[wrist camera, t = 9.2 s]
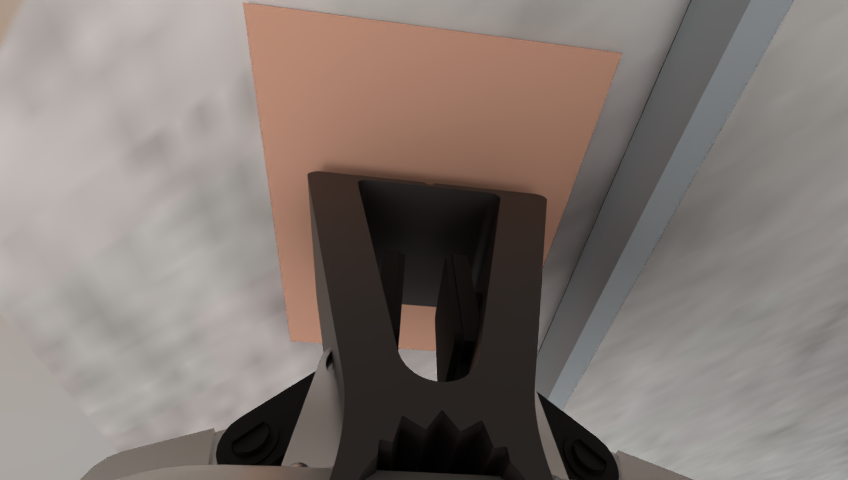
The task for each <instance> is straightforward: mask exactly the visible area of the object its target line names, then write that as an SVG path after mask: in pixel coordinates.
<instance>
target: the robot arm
mask: <svg viewBox="0 0 848 480" xmlns="http://www.w3.org/2000/svg"><path fill="white" fill-rule="evenodd" d="M405 257H406V254H401V253H400V249H391V248H385V251H384V256H383V262H382V268H381V273H380V278H381V282H382V287H383V291H384V295H385V299H386V303H387V307H388V312H389V316H390V320H391V324H392V328H393V332H394V337H395V341H396V345H397V349H398V346H399V335H400V323H401V310H402V297H403V283H404V270H405ZM479 300H480V292H475V291H474V286H473V281H472V276H471V271H470V267H469V262H468V257H467V255H457V254H451V257H450V258H445V261H444V267H443V273H442V278H441V284H440V290H439V295H438V301H437V307H436V312H435V336H436V358H437V380H438V382H451V381H456V380H459V379H461V378H464V377H465V376H467V373H468V367H469V362H470V358H471V355H472V351H473V348H474V344H475V340H476V333H477V327H478V320H479V310H478V306H479ZM535 409H536V418H537V423H538V429H539V434H540V438H541V442H542V446H543V450H544V453H545V456H546V460H547V463H548V465H549V468H550V471H551V474H552V477H553V479H554V480H693V479H691V478H688V477H685V476H683V475H680V474H678V473H675V472H673V471H670V470H667V469H665V468H662V467H660V466H657V465H655V464H652V463H649V462H647V461H644V460H642V459H639V458H636V457H634V456H631V455H629V454H626V453H624V452H621V451H617V452H616V454H615V453H612V452H610V451H609V449H608V448H607V447H606V445H604V444H603V443H602V442H601V441H600V440H599V439H598V438H597V437H596V436H594V435H593V434H592V433H590V432H589V431H588V430H586V429H585V428H584V427H583V426H581V425H580V424H579V423H577V422H576V421H575V420H573V419H572V418H571V417H570V416H568V415H567V414H566V413H564V412H563V411H562V410H560V409H559V408H558V407H557V406H555V405H554V404H553V403H551V402H550V401H549V400H547V399H546V398H545V397H544V396H542V395H541V394H540V393H538V392H537V391H536V389H535ZM342 425H343V421H342V415H341V408H340V402H339V395H338V389H337V383H336V378H335V375H334V368H333V361H332V351H331V346H330V347H329V348H328V349H327V350H326V351H325V352H324V353H323V355H322V357H321V359H320V361H319V364H318V367H317V370H316V371H315V372H314V373H312V374H310V375H309V376H307V377H305V378H304V379H302V380H301V381H299V382H297V383H296V384H294V385H292V386H291V387H289V388H288V389H286V390H284V391H283V392H281V393H279V394H278V395H276V396H275V397H273V398H271V399H270V400H268V401H266V402H265V403H263V404H262V405H260V406H258V407H257V408H255V409H253V410H252V411H250V412H249V413H247V414H245V415H244V416H242V417H240V418H239V419H238V420H236V421H235V422H234V423H233V424H231V425H230V426H229V427H228V429H225V430H222V431H218V432H215V430H214V428H213V429H209V430H205V431H201V432H197V433H193V434H189V435H185V436H181V437H178V438H174V439H170V440H166V441H162V442H158V443H154V444H150V445H146V446H142V447H138V448H134V449H130V450H126V451H123V452H120V453H117V454H115V455H112V456H110V457H107V458H106V459H104V460H103V461H101V462H100V463H98V464H97V465H95V466H94V467H93V468H91V469H90V470H89V472H88V473H86V475H84V477H82V478H81V480H329V479H330V476H331V473H332V470H333V467H334V463H335V460H336V456H337V452H338V448H339V443H340V438H341V433H342ZM365 480H504V479H502V478H501V477H500V476H487V475H467V474H446V473H426V472H405V471H384V470H376V473H375V474H373V475H371V476H369V477H368V478H366V479H365Z"/></svg>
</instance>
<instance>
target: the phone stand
mask: <svg viewBox="0 0 848 480" xmlns="http://www.w3.org/2000/svg"><path fill="white" fill-rule="evenodd" d="M307 176H308V189H309V203H310V216H311V230H312V243H313V256H314V270H315V283H316V297H317V305H318V313H319V321H320V328H321V336H322V344H323V351H324V352H325V351H326V350H327V349H328V348H329V347H330V346H331V351H332V361H333V368H334V375H335V378H336V383H337V389H338V395H339V402H340V408H341V415H342V421H343V425H342V433H341V438H340V443H339V448H338V452H337V456H336V460H335V463H334V467H333V470H332V473H331V476H330V479H329V480H365V479H366V478H368V477H369V476H371V475H373V474H375V473H376V470H384V471H405V472H426V473H446V474H467V475H487V476H500V477H501V478H502V479H504V480H554V479H553V477H552V474H551V471H550V468H549V465H548V463H547V460H546V456H545V453H544V450H543V446H542V442H541V438H540V434H539V429H538V423H537V418H536V409H535V377H536V361H537V346H538V331H539V315H540V300H541V285H542V269H543V254H544V239H545V223H546V208H547V199H546V198H545V197H544V196H541V195H538V194H532V193H523V192H513V191H504V190H494V189H485V188H475V187H465V186H456V185H446V184H437V183H435V184H433V185H429V184H426V183H425V182H418V181H408V180H399V179H389V178H380V177H370V176H361V175H351V174H341V173H332V172H322V171H314V172H310V173H308V174H307ZM385 248H391V249H400V253H401V254H406V257H405V270H404V283H403V297H402V304H404V305H416V306H428V307H437V301H438V295H439V290H440V284H441V278H442V273H443V267H444V261H445V258H450V257H451V254H457V255H467V257H468V262H469V267H470V271H471V276H472V281H473V286H474V291H475V292H480V300H479V306H478V310H479V320H478V327H477V333H476V340H475V344H474V348H473V351H472V355H471V358H470V362H469V367H468V373H467V376H465V377H464V378H461V379H459V380H456V381H451V382H437V381H432V380H428V379H425V378H423V377H421V376H419V375H417V374H415V373H414V372H413V371H411V370H410V369H409V368H408V367H407V366H406V365H405V364H404V362H403V361H402V359H401V357H400V355H399V353H398V349H397V345H396V341H395V337H394V332H393V328H392V324H391V320H390V316H389V312H388V307H387V303H386V299H385V295H384V291H383V287H382V282H381V278H380V273H381V268H382V262H383V256H384V251H385Z"/></svg>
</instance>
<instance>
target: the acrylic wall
mask: <svg viewBox="0 0 848 480" xmlns="http://www.w3.org/2000/svg"><path fill="white" fill-rule="evenodd" d="M793 1H794V0H691V3H690V5H689V7H688V10H687V12H686V14H685V16H684V19H683V21H682V23H681V26H680V28H679V30H678V33H677V35H676V37H675V40H674V42H673V44H672V46H671V49H670V51H669V53H668V56H667V58H666V60H665V63H664V65H663V67H662V70H661V72H660V74H659V76H658V79H657V81H656V83H655V86H654V88H653V90H652V93H651V95H650V97H649V100H648V102H647V104H646V106H645V109H644V111H643V113H642V116H641V118H640V120H639V123H638V125H637V127H636V130H635V132H634V134H633V136H632V139H631V141H630V143H629V146H628V148H627V150H626V153H625V155H624V157H623V160H622V162H621V164H620V166H619V169H618V171H617V173H616V176H615V178H614V180H613V183H612V185H611V187H610V190H609V192H608V194H607V196H606V199H605V201H604V203H603V206H602V208H601V210H600V213H599V215H598V217H597V220H596V222H595V224H594V226H593V229H592V231H591V233H590V236H589V238H588V240H587V243H586V245H585V247H584V250H583V252H582V254H581V256H580V259H579V261H578V263H577V266H576V268H575V270H574V273H573V275H572V277H571V280H570V282H569V284H568V286H567V289H566V291H565V293H564V296H563V298H562V300H561V303H560V305H559V307H558V310H557V312H556V314H555V316H554V319H553V321H552V323H551V326H550V328H549V330H548V333H547V335H546V337H545V340H544V342H543V344H542V346H541V349H540V351H539V353H538V356H537V361H536V377H535V389H536V391H537V392H538V393H540V394H541V395H542V396H544V397H545V398H546V399H547V400H549V401H550V402H551V403H553V404H554V405H555V406H557V407H558V408H559V409H560V410H563V409H564V407H565V405H566V403H567V401H568V400H569V398H570V396H571V394H572V393H573V391H574V389H575V387H576V386H577V384H578V382H579V380H580V378H581V377H582V375H583V373H584V371H585V370H586V368H587V366H588V364H589V362H590V361H591V359H592V357H593V355H594V354H595V352H596V350H597V348H598V347H599V345H600V343H601V341H602V339H603V338H604V336H605V334H606V332H607V331H608V329H609V327H610V325H611V323H612V322H613V320H614V318H615V316H616V315H617V313H618V311H619V309H620V308H621V306H622V304H623V302H624V300H625V299H626V297H627V295H628V293H629V292H630V290H631V288H632V286H633V285H634V283H635V281H636V279H637V277H638V276H639V274H640V272H641V270H642V269H643V267H644V265H645V263H646V261H647V260H648V258H649V256H650V254H651V253H652V251H653V249H654V247H655V246H656V244H657V242H658V240H659V238H660V237H661V235H662V233H663V231H664V230H665V228H666V226H667V224H668V223H669V221H670V219H671V217H672V215H673V214H674V212H675V210H676V208H677V207H678V205H679V203H680V201H681V199H682V198H683V196H684V194H685V192H686V191H687V189H688V187H689V185H690V184H691V182H692V180H693V178H694V176H695V175H696V173H697V171H698V169H699V168H700V166H701V164H702V162H703V161H704V159H705V157H706V155H707V153H708V152H709V150H710V148H711V146H712V145H713V143H714V141H715V139H716V137H717V136H718V134H719V132H720V130H721V129H722V127H723V125H724V123H725V122H726V120H727V118H728V116H729V114H730V113H731V111H732V109H733V107H734V106H735V104H736V102H737V100H738V98H739V97H740V95H741V93H742V91H743V90H744V88H745V86H746V84H747V83H748V81H749V79H750V77H751V75H752V74H753V72H754V70H755V68H756V67H757V65H758V63H759V61H760V60H761V58H762V56H763V54H764V52H765V51H766V49H767V47H768V45H769V44H770V42H771V40H772V38H773V36H774V35H775V33H776V31H777V29H778V28H779V26H780V24H781V22H782V21H783V19H784V17H785V15H786V13H787V12H788V10H789V8H790V6H791V5H792V3H793Z"/></svg>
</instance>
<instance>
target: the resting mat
mask: <svg viewBox="0 0 848 480" xmlns="http://www.w3.org/2000/svg"><path fill="white" fill-rule="evenodd" d="M243 6H244V13H245V20H246V27H247V35H248V42H249V49H250V56H251V63H252V70H253V77H254V84H255V91H256V98H257V105H258V113H259V120H260V127H261V134H262V141H263V148H264V155H265V162H266V169H267V176H268V183H269V190H270V198H271V205H272V212H273V219H274V226H275V233H276V240H277V247H278V254H279V261H280V268H281V275H282V283H283V290H284V297H285V304H286V311H287V318H288V325H289V332H290V339H291V341H300V342H314V343H322V336H321V328H320V321H319V313H318V305H317V297H316V283H315V270H314V256H313V243H312V230H311V216H310V203H309V189H308V176H307V174H308V173H310V172H314V171H322V172H332V173H341V174H351V175H361V176H370V177H380V178H389V179H399V180H408V181H418V182H425V183H426V184H429V185H433V184H435V183H437V184H446V185H456V186H465V187H475V188H485V189H494V190H504V191H513V192H523V193H532V194H538V195H541V196H544V197H545V198H546V199H547V208H546V223H545V239H544V254H543V266H544V264H545V261H546V258H547V255H548V253H549V250H550V247H551V245H552V242H553V239H554V237H555V234H556V231H557V228H558V226H559V223H560V220H561V218H562V215H563V212H564V209H565V207H566V204H567V201H568V199H569V196H570V193H571V191H572V188H573V185H574V182H575V180H576V177H577V174H578V172H579V169H580V166H581V164H582V161H583V158H584V155H585V153H586V150H587V147H588V145H589V142H590V139H591V136H592V134H593V131H594V128H595V126H596V123H597V120H598V118H599V115H600V112H601V109H602V107H603V104H604V101H605V99H606V96H607V93H608V91H609V88H610V85H611V82H612V80H613V77H614V74H615V72H616V69H617V66H618V63H619V61H620V58H621V55H622V53H617V52H609V51H602V50H594V49H587V48H579V47H572V46H564V45H557V44H550V43H542V42H535V41H527V40H520V39H512V38H505V37H497V36H490V35H482V34H475V33H467V32H460V31H453V30H445V29H438V28H430V27H423V26H415V25H408V24H400V23H393V22H385V21H378V20H370V19H363V18H356V17H348V16H341V15H333V14H326V13H318V12H311V11H303V10H296V9H288V8H281V7H273V6H266V5H259V4H251V3H244V2H243ZM435 312H436V307H428V306H416V305H404V304H402V310H401V323H400V335H399V346H398V348H403V349H418V350H433V351H436V336H435Z"/></svg>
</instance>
